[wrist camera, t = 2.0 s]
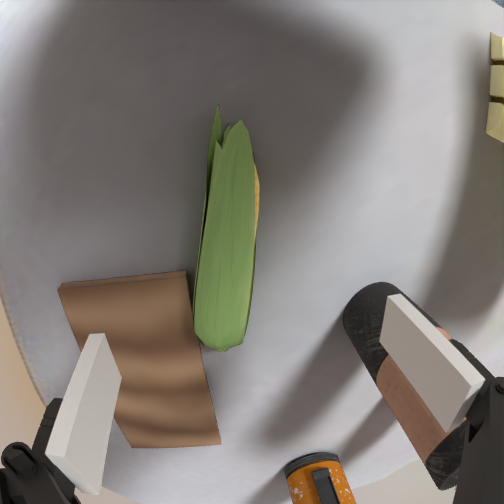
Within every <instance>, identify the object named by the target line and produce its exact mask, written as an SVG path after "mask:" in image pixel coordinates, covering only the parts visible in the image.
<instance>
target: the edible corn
mask: <svg viewBox="0 0 504 504" xmlns="http://www.w3.org/2000/svg"><path fill="white" fill-rule="evenodd" d="M230 123H231V122H230ZM259 194H260V184H259V179H258V175H257V170H256V167H255V161H254V153H253V152H252V148H251V141H250V135H249V132H248V130H247V129H246V127H245V125H244V124H243V122H242V120H241V119H240V120H239V121H238V122H237V123H236V124H235V125H234V126H233V127H232V128H231V129H230V124H229V126H228V127H227V129H226V130H225V133H224V138H223V143H222V130H221V116H220V108H219V104H218V107H217V110H216V113H215V116H214V121H213V126H212V131H211V136H210V141H209V146H208V160H207V179H206V191H205V199H204V207H203V216H202V225H201V234H200V244H199V252H198V260H197V269H196V277H195V286H194V299H193V332H194V333H195V334H196V336H197V337H198V339H199V340H200V341H201V342H202V343H203V344H204V345H205V346H207V347H209V348H215V350H216V351H218V352H225V351H227V350H228V348H231V347H234V346H236V345H240V344H242V343H243V339H244V336H245V333H246V329H247V324H248V319H249V313H250V307H251V299H252V292H253V280H254V269H255V250H256V229H257V222H258V214H259Z"/></svg>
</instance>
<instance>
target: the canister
mask: <svg viewBox="0 0 504 504" xmlns="http://www.w3.org/2000/svg"><path fill="white" fill-rule="evenodd" d="M285 476H286V479H287V483H288V487H289V491H290V495H291V498H292V502H293V504H356V502H355V499H354V497H353V494H352V492H351V489H350V486H349V484H348V481H347V479H346V476H345V474H344V471H343V469H342V466H341V464H340V461H339V459H338V456H337V455H336V454H333V453H318V454H313V455H309V456H306V457H304V458H301V459H299V460H297V461H295V462H294V463H292V464H291V465H289V466H288V467H287V468H286V470H285Z"/></svg>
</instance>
